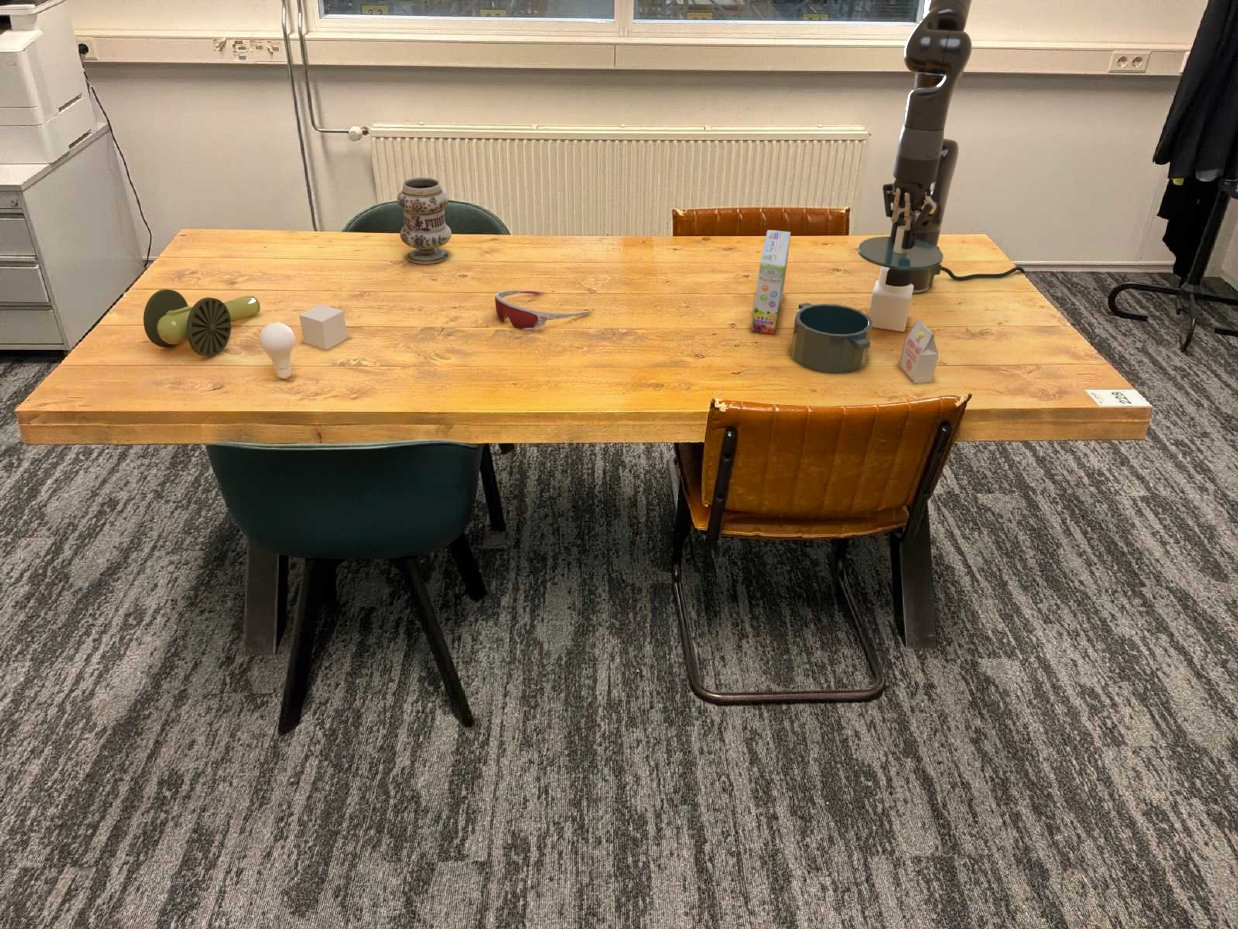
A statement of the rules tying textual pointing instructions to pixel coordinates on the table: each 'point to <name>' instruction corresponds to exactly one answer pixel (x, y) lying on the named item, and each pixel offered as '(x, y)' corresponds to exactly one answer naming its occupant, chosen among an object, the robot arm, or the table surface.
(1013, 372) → the table surface
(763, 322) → the snack box
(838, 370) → the cooking pot
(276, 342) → the lightbulb
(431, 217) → the apothecary jar
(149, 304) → the cannon
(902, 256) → the lid
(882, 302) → the container
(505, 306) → the sunglasses
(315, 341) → the grey cube
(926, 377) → the white carton
